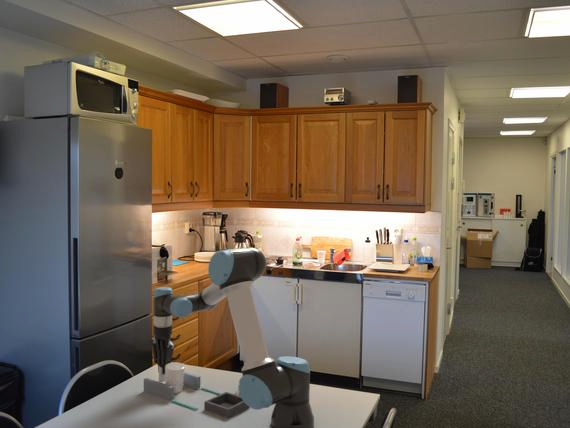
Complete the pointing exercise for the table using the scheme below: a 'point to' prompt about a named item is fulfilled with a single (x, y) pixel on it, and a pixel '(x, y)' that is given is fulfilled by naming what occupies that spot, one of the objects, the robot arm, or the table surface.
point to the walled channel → (167, 390)
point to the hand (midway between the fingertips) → (162, 381)
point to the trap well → (225, 404)
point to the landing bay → (193, 406)
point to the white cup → (175, 375)
